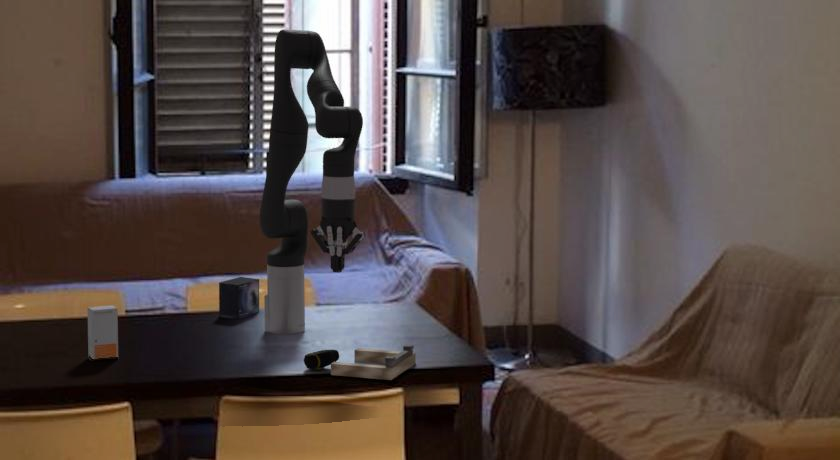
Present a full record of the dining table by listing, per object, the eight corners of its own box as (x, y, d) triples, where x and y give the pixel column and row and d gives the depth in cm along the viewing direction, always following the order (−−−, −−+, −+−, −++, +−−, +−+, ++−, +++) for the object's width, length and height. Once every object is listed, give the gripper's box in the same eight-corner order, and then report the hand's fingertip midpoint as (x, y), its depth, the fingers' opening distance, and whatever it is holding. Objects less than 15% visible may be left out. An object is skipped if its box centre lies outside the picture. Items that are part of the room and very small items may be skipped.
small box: (239, 324, 336) (238, 284, 334) (217, 321, 338) (217, 282, 337) (261, 316, 345) (260, 278, 344) (240, 314, 348) (239, 276, 346)
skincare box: (92, 362, 293) (91, 310, 292) (88, 358, 297) (86, 306, 296) (119, 359, 296) (117, 307, 295) (114, 355, 300) (113, 304, 298)
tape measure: (342, 362, 288) (338, 346, 288) (325, 370, 282) (321, 353, 282) (318, 366, 291) (314, 350, 291) (300, 373, 285) (296, 357, 285)
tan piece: (330, 374, 282) (330, 354, 282) (357, 358, 297) (357, 339, 297) (391, 380, 278) (391, 359, 277) (415, 363, 293) (415, 344, 292)
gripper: (304, 195, 289) (303, 272, 291) (359, 199, 284) (358, 277, 287) (318, 192, 296) (317, 266, 298) (371, 195, 291) (370, 271, 294)
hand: (337, 271), depth 293 cm, fingers closed
